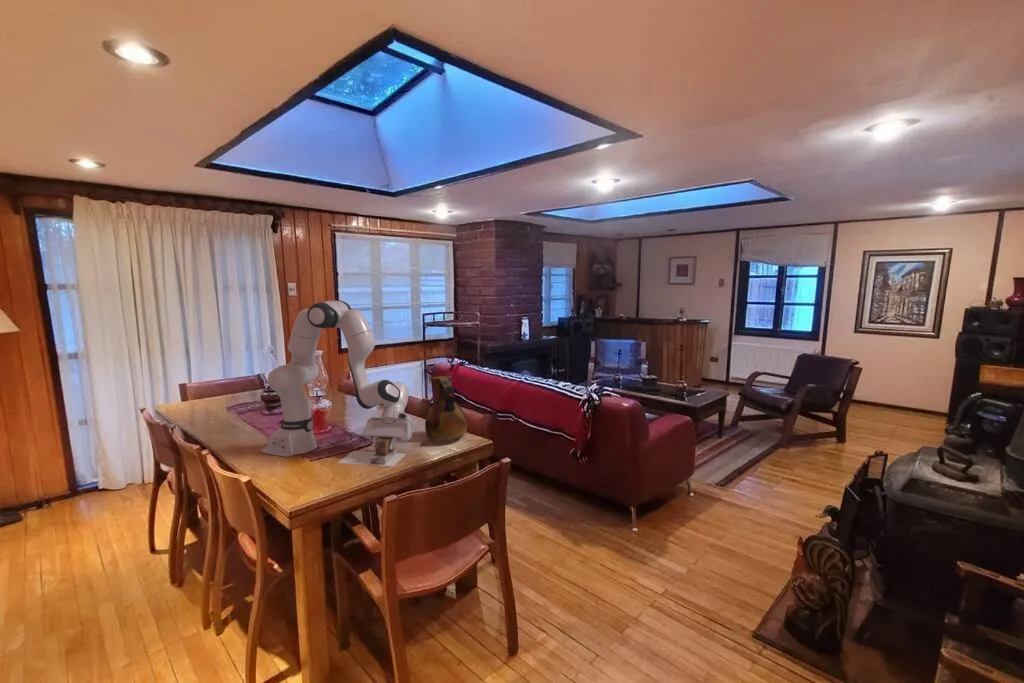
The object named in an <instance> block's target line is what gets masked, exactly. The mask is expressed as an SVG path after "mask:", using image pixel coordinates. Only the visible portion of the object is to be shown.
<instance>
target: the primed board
mask: <svg viewBox="0 0 1024 683" xmlns="http://www.w3.org/2000/svg"><path fill="white" fill-rule="evenodd" d="M374 454H376V451H363V450H362V451H360V450H353V451H352V452H350V453H348V454H347V455H346V456H344V457H343V458H341V459H339V461H337V464H346V465H361V466H362V465H365V466H377V467H378V466H380V467H381V466H382V467H395V466H396V465H397V464H398V463H399V462H401V460H402V459H403V458H404V457H405V456H407V453H397V452H396V455H395V456H394V457H393V458H392V459H390V460H389V461H388V462H387V463H386V464H385V465H383V464H371V459H370V458H371V457H372V456H373V455H374Z"/></svg>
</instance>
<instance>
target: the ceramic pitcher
mask: <svg viewBox="0 0 1024 683" xmlns="http://www.w3.org/2000/svg"><path fill="white" fill-rule="evenodd" d="M452 378H453V376H452V375H441V376H440V375H439V376H434V377H432V378H429V380H430V381H431V382H432V384H434V387H435V391H436V400H435V402H434V403H433V404H432V405H431V406H430V408H429V410H428V411H427V414H426V416H425V420H424V421H425V422H424V429H425V434H426V436H427V438H429V439H431V440H436V441H451V440H459V439H461V438H463V437H464V436H465V434H466V433H467V431H468V420H467V416H466V414H465V411H464V410H463V408H462V407H461V406H460V405H459V403H457V402H456V401H455V395H456V394H455V389H454V386H453V383H452V381H451V379H452Z"/></svg>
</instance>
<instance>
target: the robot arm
mask: <svg viewBox="0 0 1024 683" xmlns="http://www.w3.org/2000/svg"><path fill="white" fill-rule="evenodd" d="M368 322H369V321H368V320H367V318H366V317H365V315H364V314H363V312H362V311H361V310H359V309H355V308H351V306H350V305H349V303H347V302H345V301H343V300H338V299H337V300H325V301H319V302H316V303H314V304H312V305H311V306H310V307H309V308H305V309H304V308H303V309H302V310H300V311H299V313H298V314H297V317H296V319H295V320H294V323H293V326H292V329H291V333H290V336H289V340H288V344H287V350H288V351H289V353H290V354H291V356H290V357H291V359H290V362H289V363H286V364H283V365H279V366H277V367H276V368H274V369H273V370H271V371H270V372H269V373H268V375H267V383H268V386H269V387H270V388H271V389H272V390H273V391H274V392H276V394H277V395H278V397H279V399H280V402H281V407H282V416H283V419H281V420H280V421H278V422H277V423H278V425H280V424H281V425H280V428H278V429H276V431H274V432H273V433H272V434H270V436H269V437H268V439H267V445H266V446H264V447H263V448H262V450H261V453H262V454H265V455H266V454H268V455H274V456H278V457H284V458H287V457H291V456H296V455H301V454H307V453H309V452H311V451H314V450H315V449H317V448H318V444H317V441H316V438H315V435H314V434H315V433H314V431H313V430H314V426H313V425H314V422H313V421H314V420H313V415H312V407H311V399H310V398H309V397H308V396H306V395H305V394H304V391H303V386H306V385H308V384H311V383H312V382H313V381H314V380H316V379H317V377H318V376H319V372H320V368H319V366H318V364H317V363H316V352H317V346H318V343H319V340H320V336H321V333H322V330H323V329H334V328H338V329H339V330H341V332H342V334H343V337H344V340H345V341H346V346H347V350H348V352H347V353H348V354H347V362H348V367H349V370H350V373H351V377H352V381H353V385H354V389H355V399H356V402H357V403H358V405H359V406H360V407H361V408H362V409H367V410H370V409H372V408H374V407H378V406H381V405H382V406H383V410H382V412H381V416H380V417H371V418H369V419H367V422H366V424H365V427H364V429H363V431H362V435H363V437H364V438H365V439H368V440H369V439H370V440H373V443H374V445H373V449H375V442H376V441H377V440H378V439H379V438H391V444H388V447H387V448H388V449H389V450H392V448H394V447H395V445H396V444H397V443H398V441H406V442H407V441H410V440H411V439H412V435H413V424H414V422H413V419H412V418H411V416H409V414H407V413H405V408H406V407H407V404H408V401H409V396H410V395H409V394H410V390H409V387H408V386H407V384H405V383H403V382H400V381H396V382H393V381H390V380H388V379H382V380H379V381H375V382H372V383H370V382H369V378H368V375H367V371H366V367H365V366H366V365H365V364H366V360H367V359H368V357H369V355H371V353H372V352H373V350H374V349H375V345H376V340H375V339H376V338H375V336H374V333H373V331H372V329H371V326H370V323H368Z"/></svg>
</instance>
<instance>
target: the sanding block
mask: <svg viewBox="0 0 1024 683" xmlns="http://www.w3.org/2000/svg"><path fill="white" fill-rule="evenodd" d="M391 443H392V440H391V438H379V439H378V440H377V441H376V442H375V443H374V444H375V451H374V452H376V454H374V455H373V456H372V457H371V458H370V459H371V464H383V465H385V464H386V463H387V462H388V461H389V460H390V459H392V458H393V457H394V456H395V455H396V453H397V448H394V447H393V448H392V450H389V449H388V448H387V447H388V444H391Z"/></svg>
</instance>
